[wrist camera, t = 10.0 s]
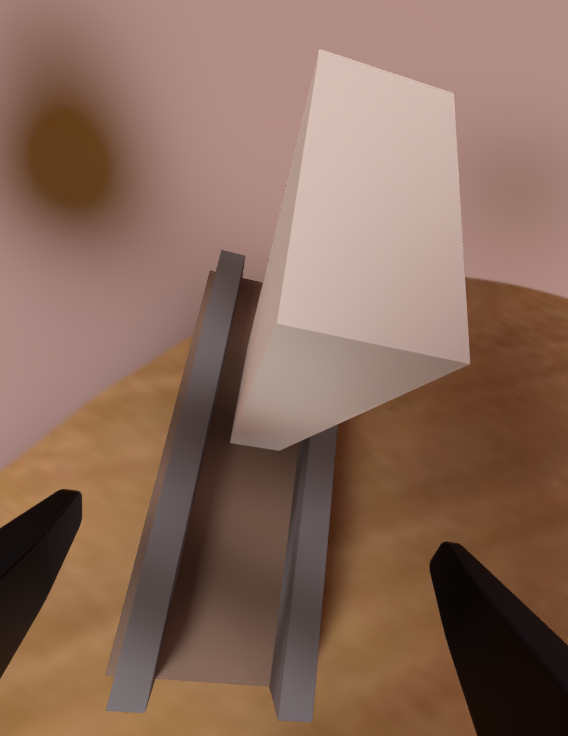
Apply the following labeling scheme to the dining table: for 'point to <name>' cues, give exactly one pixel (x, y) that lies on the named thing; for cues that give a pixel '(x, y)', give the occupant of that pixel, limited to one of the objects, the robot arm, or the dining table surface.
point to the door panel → (358, 259)
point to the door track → (227, 535)
